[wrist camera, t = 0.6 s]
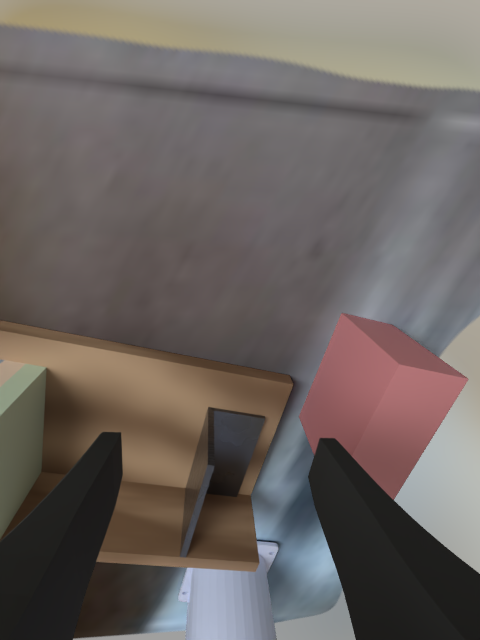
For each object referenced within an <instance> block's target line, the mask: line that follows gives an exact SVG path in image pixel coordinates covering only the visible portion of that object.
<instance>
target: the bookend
mask: <svg viewBox="0 0 480 640" xmlns="http://www.w3.org/2000/svg"><path fill="white" fill-rule="evenodd" d="M265 419H266V418H265V416H262V415H255V414H249V413H243V412H237V411H231V410H225V409H218V408H212V407H208V410H207V413H206V417H205V420H204V424H203V427H202V431H201V435H200V438H199V442H198V445H197V449H196V453H195V456H194V460H193V463H192V467H191V470H190V474H189V478H188V481H187V485H186V489H185V500H184V512H183V524H182V536H181V547H180V557H184V558H186V556H187V552H188V549H189V546H190V543H191V540H192V536H193V533H194V530H195V527H196V524H197V521H198V517H199V514H200V511H201V508H202V505H203V502H204V498H205V495H206V494H213V495H222V496H231V497H237V496H238V493H239V490H240V487H241V485H242V482H243V479H244V476H245V474H246V471H247V468H248V465H249V463H250V460H251V457H252V455H253V452H254V449H255V446H256V444H257V441H258V438H259V435H260V433H261V430H262V427H263V425H264V422H265Z"/></svg>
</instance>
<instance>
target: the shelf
mask: <svg viewBox="0 0 480 640" xmlns="http://www.w3.org/2000/svg"><path fill="white" fill-rule="evenodd" d="M0 359H1V360H7V361H12V362H18V363H24V364H30V365H36V366H42V367H47V369H46V389H45V409H44V429H43V449H42V469H41V473H40V475H39V477H38V478H37V480H36V481H35V483H34V485H33V486H32V488H31V490H30V491H29V493H28V495H27V496H26V498H25V499H24V501H23V503H22V504H21V506H20V508H19V509H18V511H17V513H16V514H15V516H14V517H13V519H12V521H11V522H10V524H9V526H8V527H7V529H6V530H5V532H4V534H3V535H2V537H1V539H0V541H1V540H2V539H3V538H4V537H5V536H6V535H7V534H8V533H10V532H11V531H12V530H13V529H14V528H15V527H16V526H17V525H18V524H19V523H20V522H21V521H22V520H23V519H24V518H25V517H26V516H27V515H28V514H29V513H30V512H31V511H32V510H33V509H34V508H35V507H36V506H37V505H38V504H39V503H40V502H41V501H42V500H43V499H44V498H45V497H46V496H47V495H48V494H49V493H50V492H51V491H52V489H53V488H54V487H55V486H56V485H57V484H58V483H59V482H60V481H61V480H62V478H63V477H64V476H65V475H66V474H67V473H68V472H69V471H70V470H71V468H72V467H73V466H74V465H75V464H76V463H77V461H78V460H79V459H80V458H81V457H82V456H83V454H84V453H85V452H86V451H87V450H88V448H89V447H90V446H91V445H92V443H93V442H94V441H95V440H96V438H97V437H98V436H99V434H101V433H102V432H121V439H122V465H123V476H122V481H121V485H120V489H119V493H118V497H117V502H116V506H115V509H114V512H113V515H112V518H111V520H110V523H109V526H108V529H107V532H106V535H105V538H104V541H103V543H102V546H101V549H100V552H99V555H98V558H97V561H96V562H109V563H125V564H140V565H155V566H171V567H186V568H202V569H217V570H232V571H248V572H256V570H257V568H258V565H259V563H260V562H259V554H258V547H257V539H256V532H255V524H254V517H253V509H252V502H251V493H252V491H253V488H254V485H255V483H256V480H257V478H258V475H259V472H260V470H261V467H262V465H263V462H264V460H265V457H266V454H267V452H268V449H269V447H270V444H271V441H272V439H273V436H274V434H275V431H276V429H277V426H278V423H279V421H280V418H281V416H282V413H283V410H284V408H285V405H286V403H287V400H288V398H289V395H290V392H291V390H292V387H293V382H292V380H291V378H290V375H285V374H280V373H275V372H269V371H264V370H259V369H254V368H248V367H243V366H238V365H233V364H227V363H222V362H217V361H212V360H206V359H201V358H196V357H191V356H185V355H180V354H175V353H170V352H164V351H159V350H154V349H148V348H143V347H138V346H133V345H127V344H122V343H117V342H112V341H106V340H101V339H96V338H91V337H85V336H80V335H75V334H70V333H64V332H59V331H54V330H49V329H43V328H38V327H33V326H28V325H22V324H17V323H12V322H7V321H1V320H0ZM208 407H212V408H218V409H225V410H231V411H237V412H243V413H249V414H255V415H262V416H265V418H266V419H265V422H264V425H263V427H262V430H261V433H260V435H259V438H258V441H257V444H256V446H255V449H254V452H253V455H252V457H251V460H250V463H249V465H248V468H247V471H246V474H245V476H244V479H243V482H242V485H241V487H240V490H239V493H238V496H237V497H231V496H222V495H213V494H206V495H205V498H204V502H203V505H202V508H201V511H200V514H199V517H198V521H197V524H196V527H195V530H194V533H193V536H192V540H191V543H190V546H189V549H188V552H187V556H186V558H184V557H180V547H181V536H182V524H183V512H184V500H185V489H186V485H187V481H188V478H189V474H190V470H191V467H192V463H193V460H194V456H195V453H196V449H197V445H198V442H199V438H200V435H201V431H202V427H203V424H204V420H205V417H206V413H207V410H208Z"/></svg>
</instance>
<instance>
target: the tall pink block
mask: <svg viewBox="0 0 480 640" xmlns="http://www.w3.org/2000/svg"><path fill="white" fill-rule="evenodd" d="M467 381H468V378H467V377H465V376H464V375H462V374H461V373H459V372H458V371H457V370H455V369H454V368H452V367H451V366H450V365H448V364H447V363H445V362H444V361H443V360H441V359H440V358H438V357H437V356H436V355H434V354H433V353H431V352H430V351H428V350H427V349H426V348H424V347H423V346H421V345H420V344H419V343H417V342H416V341H414V340H413V339H412V338H410V337H409V336H407V335H406V334H405V333H403V332H402V331H400V330H399V329H397V328H396V327H395V326H393V325H391V324H386V323H382V322H378V321H374V320H370V319H365V318H361V317H357V316H353V315H348V314H344V313H341V316H340V318H339V321H338V323H337V325H336V328H335V330H334V333H333V335H332V338H331V340H330V342H329V345H328V347H327V350H326V352H325V355H324V357H323V359H322V362H321V364H320V367H319V369H318V372H317V374H316V376H315V379H314V381H313V384H312V386H311V388H310V391H309V393H308V396H307V398H306V401H305V403H304V405H303V408H302V410H301V413H300V415H299V418H300V421H301V423H302V426H303V428H304V431H305V433H306V436H307V438H308V441H309V443H310V446H311V448H312V451H313V453H314V456H315V452H316V449H317V446H318V442H319V439H320V438H335V439H336V440H337V441H338V442H339V443H340V444H341V445H342V446H343V447H344V448H345V449H346V450H347V451H348V453H349V454H350V455H351V456H352V457H353V458H354V459H355V460H356V461H357V462H358V464H359V465H360V466H361V467H362V468H363V469H364V470H365V471H366V472H367V473H368V474H369V475H370V477H371V478H372V479H373V480H374V481H375V482H376V483H377V484H378V485H379V486H380V487H381V488H382V489H383V490H384V491H385V492H386V493H387V494H388V495H389V496H390V497H391V498H392V499H393V500H394V499H395V497H396V495H397V494H398V492H399V491H400V489H401V487H402V486H403V484H404V482H405V481H406V479H407V478H408V476H409V474H410V473H411V471H412V469H413V468H414V466H415V465H416V463H417V461H418V460H419V458H420V457H421V455H422V453H423V452H424V450H425V449H426V447H427V445H428V444H429V442H430V440H431V439H432V437H433V436H434V434H435V432H436V431H437V429H438V428H439V426H440V424H441V423H442V421H443V420H444V418H445V416H446V414H447V413H448V411H449V410H450V408H451V407H452V405H453V403H454V402H455V400H456V399H457V397H458V395H459V394H460V392H461V391H462V389H463V387H464V386H465V384H466V382H467Z"/></svg>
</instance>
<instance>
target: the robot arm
mask: <svg viewBox="0 0 480 640" xmlns="http://www.w3.org/2000/svg"><path fill="white" fill-rule="evenodd" d="M122 476H123V465H122V439H121V432H102V433H101V434H99V436H98V437H97V438H96V440H95V441H94V442H93V443H92V445H91V446H90V447H89V448H88V450H87V451H86V452H85V453H84V454H83V456H82V457H81V458H80V459H79V460H78V461H77V463H76V464H75V465H74V466H73V467H72V468H71V470H70V471H69V472H68V473H67V474H66V475H65V476H64V477H63V478H62V480H61V481H60V482H59V483H58V484H57V485H56V486H55V487H54V488H53V489H52V491H51V492H50V493H49V494H48V495H47V496H46V497H45V498H44V499H43V500H42V501H41V502H40V503H39V504H38V505H37V506H36V507H35V508H34V509H33V510H32V511H31V512H30V513H29V514H28V515H27V516H26V517H25V518H24V519H23V520H22V521H21V522H20V523H19V524H18V525H17V526H16V527H15V528H14V529H13V530H12V531H11V532H10V533H8V534H7V535H6V536H5V537H4V538H3V539H2V540H1V541H0V640H73V636H74V632H75V628H76V625H77V621H78V617H79V614H80V610H81V606H82V602H83V599H84V596H85V593H86V590H87V587H88V583H89V581H90V578H91V575H92V572H93V569H94V566H95V563H96V561H97V558H98V555H99V552H100V549H101V546H102V543H103V541H104V538H105V535H106V532H107V529H108V526H109V523H110V520H111V518H112V515H113V512H114V509H115V506H116V502H117V497H118V493H119V489H120V485H121V481H122ZM308 478H309V482H310V487H311V492H312V496H313V500H314V505H315V508H316V511H317V514H318V517H319V520H320V523H321V526H322V529H323V532H324V535H325V537H326V540H327V543H328V546H329V549H330V552H331V555H332V558H333V561H334V563H335V566H336V569H337V572H338V575H339V578H340V581H341V585H342V588H343V591H344V594H345V599H346V602H347V606H348V610H349V614H350V618H351V622H352V626H353V629H354V634H355V638H356V640H480V574H479V573H478V572H476V571H475V570H474V569H473V568H471V567H470V566H469V565H468V564H466V563H465V562H464V561H462V560H461V559H460V558H459V557H457V556H456V555H455V554H454V553H452V552H451V551H450V550H449V549H447V548H446V547H445V546H444V545H443V544H441V543H440V542H439V541H438V540H437V539H435V538H434V537H433V536H432V535H431V534H430V533H428V532H427V531H426V530H425V529H424V528H423V527H421V526H420V525H419V524H418V523H417V522H416V521H415V520H414V519H413V518H412V517H411V516H409V515H408V514H407V513H406V512H405V511H404V510H403V509H402V508H401V507H400V506H399V505H398V504H397V503H396V502H395V501H394V500H393V499H392V498H391V497H390V496H389V495H388V494H387V493H386V492H385V491H384V490H383V489H382V488H381V487H380V486H379V485H378V484H377V483H376V482H375V481H374V480H373V479H372V478H371V477H370V475H369V474H368V473H367V472H366V471H365V470H364V469H363V468H362V467H361V466H360V465H359V464H358V462H357V461H356V460H355V459H354V458H353V457H352V456H351V455H350V454H349V453H348V451H347V450H346V449H345V448H344V447H343V446H342V445H341V444H340V443H339V442H338V441H337V440H336V439H335V438H320V439H319V442H318V446H317V449H316V452H315V456H314V459H313V462H312V466H311V469H310V472H309V476H308ZM257 547H258V554H259V562H260V563H259V565H258V568H257V570H256V572H248V571H232V570H217V569H202V568H187V569H186V572H185V576H184V579H183V582H182V585H181V588H180V591H179V594H178V600H179V601H181V602H188V604H187V622H186V640H277V639H276V632H275V626H274V619H273V612H272V605H271V599H270V592H269V585H268V579H267V573H268V571H269V569H270V566H271V564H272V562H273V560H274V558H275V556H276V554H277V552H278V549H279V548H278V544H277V543H273V542H261V541H257Z"/></svg>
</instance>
